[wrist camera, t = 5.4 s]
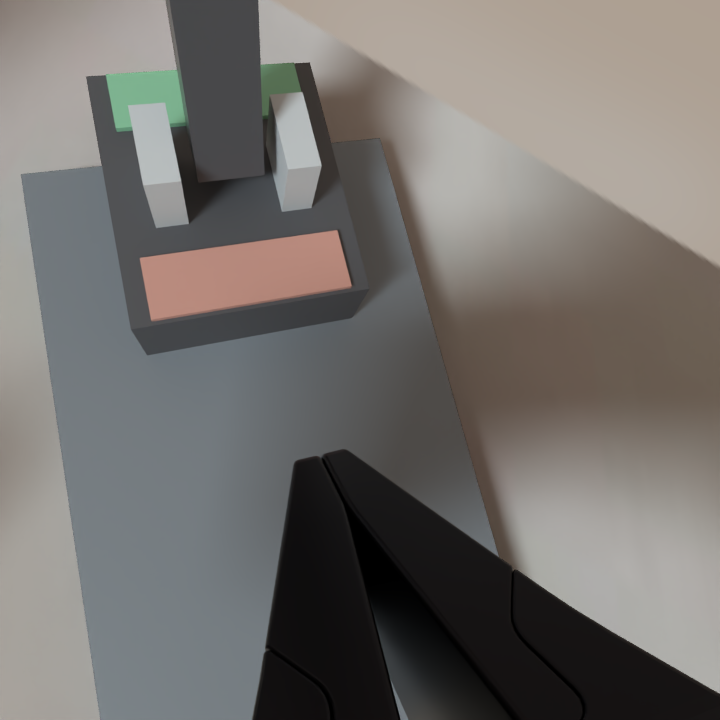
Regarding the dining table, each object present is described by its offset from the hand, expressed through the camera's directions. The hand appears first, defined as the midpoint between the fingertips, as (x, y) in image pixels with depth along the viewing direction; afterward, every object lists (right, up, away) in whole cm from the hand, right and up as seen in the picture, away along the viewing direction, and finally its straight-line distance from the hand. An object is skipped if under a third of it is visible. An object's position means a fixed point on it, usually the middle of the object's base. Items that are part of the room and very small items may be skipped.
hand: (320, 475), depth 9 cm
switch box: (-2, 0, +9) cm, 9 cm away
